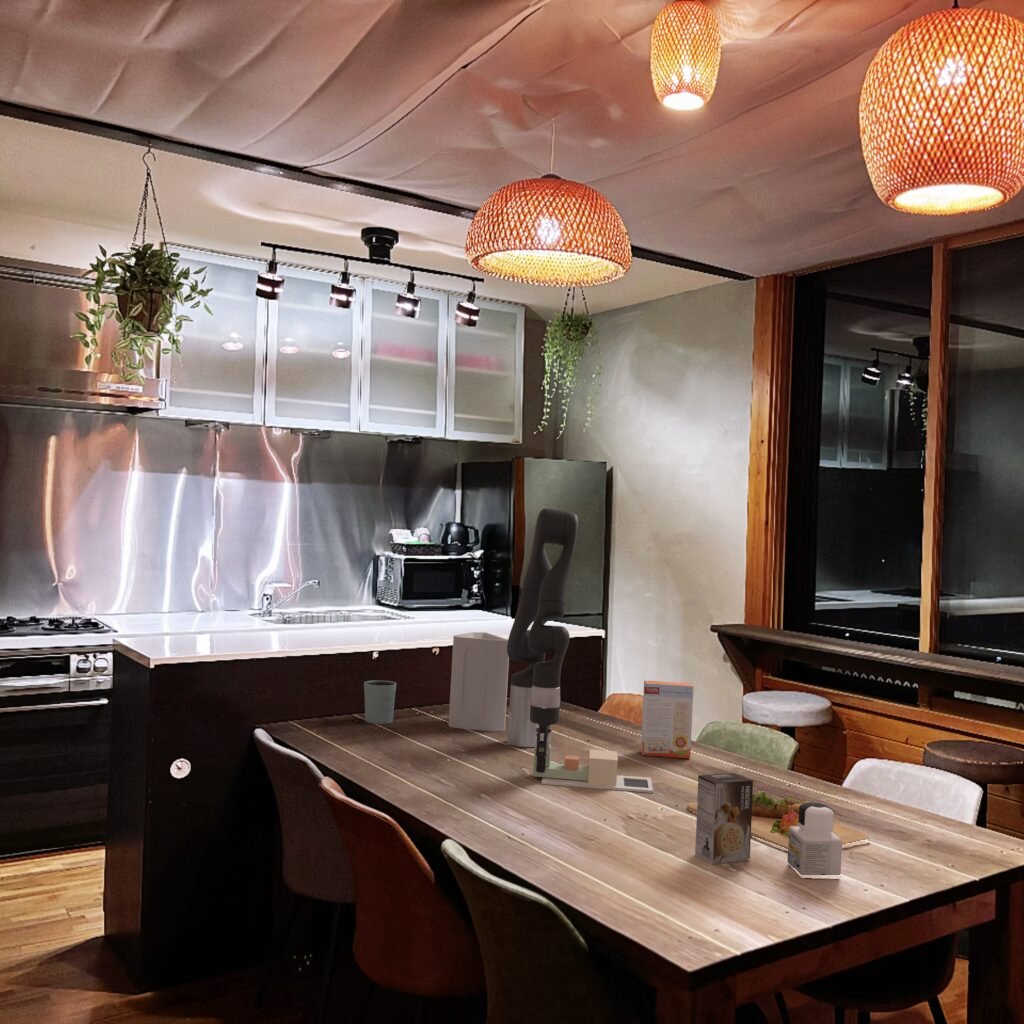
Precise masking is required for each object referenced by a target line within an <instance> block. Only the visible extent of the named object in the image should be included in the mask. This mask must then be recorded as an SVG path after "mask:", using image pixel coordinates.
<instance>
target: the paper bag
mask: <svg viewBox="0 0 1024 1024" xmlns="http://www.w3.org/2000/svg"><path fill="white" fill-rule="evenodd" d="M452 639H453V641H452V657H451V659H452V660H451V676H450V691H449V692H450V693H449V694H450V695H449V710H448V711H449V712H448V726H449V727H450V728H455V729H463V730H473V731H482V732H483V731H484V732H491V733H492V732H505V731H506V719H507V702H508V701H507V698H508V683H509V682H508V681H509V667H510V658H509V657H508V654H507V644H508V639H509V638H504V637H502V636H498V635H495V634H492V633H489V632H485V631H483V632H481V631H480V632H477V631H476V632H474V631H472V632H466V633H462V634H460V633H459V634H456V635H453V638H452Z"/></svg>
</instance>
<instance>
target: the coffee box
mask: <svg viewBox="0 0 1024 1024" xmlns="http://www.w3.org/2000/svg"><path fill="white" fill-rule="evenodd" d="M697 776H698V778H697V780H698V781H697V782H698V783H697V801H696V802H697V814H696V822H695V823H696V825H695V827H696V830H695V845H694V846H695V847H694V849H695V850H694V855H695V856H697V855H698V856H697V857H700V858H701V859H702V860H705V861H706V862H708V863H709V862H710V863H709V864H711V865H720V863H722V864H727V863H728V862H730V863H735V862H734V861H738V862H742V861H741V860H747V861H749V860H748V859H750V860H751V841H752V840H751V839H752V837H751V820H752V795H753V794H754V793H753V792H754V790H753V788H754V780H752V779H750V778H748V777H746V776H743V775H740V774H739V773H735V772H729V773H713V774H712V773H711V774H698V775H697Z"/></svg>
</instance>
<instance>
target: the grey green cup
mask: <svg viewBox="0 0 1024 1024" xmlns="http://www.w3.org/2000/svg"><path fill="white" fill-rule="evenodd" d="M363 690H364V691H363V692H364V722H366V723H368V724H374V725H387V724H391V723H393V722H394V713H395V712H394V708H395V699H396V691H397V682H395V681H391V680H384V679H383V680H379V679H378V680H374V679H373V680H367V681H364V683H363Z"/></svg>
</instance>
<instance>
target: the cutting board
mask: <svg viewBox="0 0 1024 1024" xmlns="http://www.w3.org/2000/svg"><path fill="white" fill-rule="evenodd" d="M805 803H812V802H811V801H809V800H806V801H800V800H798V799H794V798H793V797H789V796H786V797H784V798H782V799H775V798H773V797H767V794H766V791H765V790H762V791H760V790H758V791H757V792H756V793H753V795H752V820H751V836H754V837H757V838H760V839H763V840H765V841H768V842H771V843H774V844H776V845H779V846H781V847H784V848H786V849H788V842H789V827H790V826H798V818H799V806H800V805H802V804H805ZM688 809H689V810H688ZM687 810H688V812H690V811H692V812H691V813H693V812H695V813H697V801H695V802H694V801H693V802H688V803H687ZM695 813H694V814H695ZM798 827H799V826H798ZM832 833H834V834H835V835H836V836H837V837H839V838H840V839H841V840H842V845H843V844H846V843H852V842H856V841H860V840H865V839H870V840H871V838H870V837H869V836H868V835H867V834H866V833H863V832H861V831H858V830H856V829H853V828H849V827H847V826H845V825H842V824H840V823H837V822H834V827H833V832H832Z"/></svg>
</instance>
